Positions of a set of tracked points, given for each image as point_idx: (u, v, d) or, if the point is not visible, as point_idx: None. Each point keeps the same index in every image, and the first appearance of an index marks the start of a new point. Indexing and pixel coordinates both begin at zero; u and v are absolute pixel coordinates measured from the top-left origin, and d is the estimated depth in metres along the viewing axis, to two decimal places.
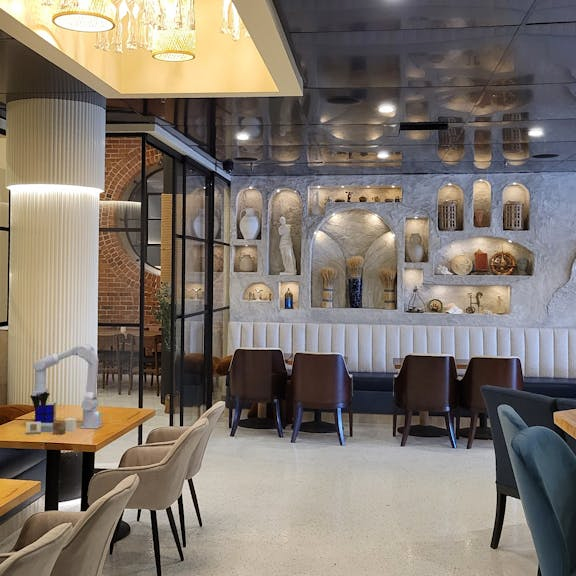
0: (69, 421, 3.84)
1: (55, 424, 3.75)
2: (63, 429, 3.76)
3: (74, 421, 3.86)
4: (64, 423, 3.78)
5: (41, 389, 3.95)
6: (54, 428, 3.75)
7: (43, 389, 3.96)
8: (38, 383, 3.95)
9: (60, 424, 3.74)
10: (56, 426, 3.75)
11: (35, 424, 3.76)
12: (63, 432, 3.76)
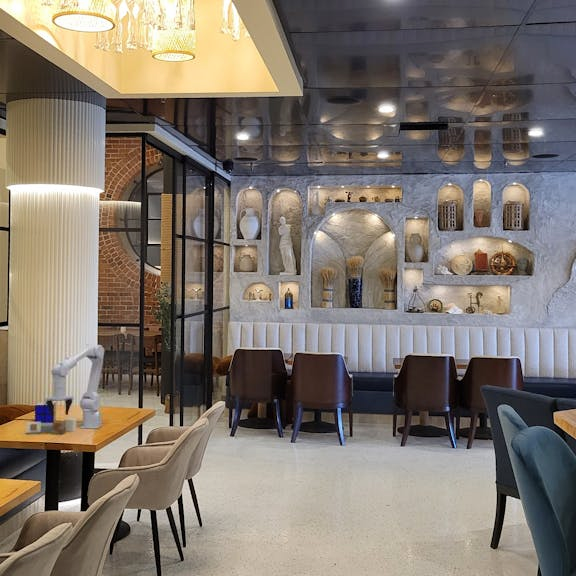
0: (69, 421, 3.84)
1: (55, 424, 3.75)
2: (63, 429, 3.76)
3: (74, 421, 3.86)
4: (64, 423, 3.78)
5: (55, 396, 3.75)
6: (54, 428, 3.75)
7: (57, 396, 3.75)
8: (54, 389, 3.76)
9: (60, 424, 3.74)
10: (56, 426, 3.75)
11: (35, 424, 3.76)
12: (63, 432, 3.76)
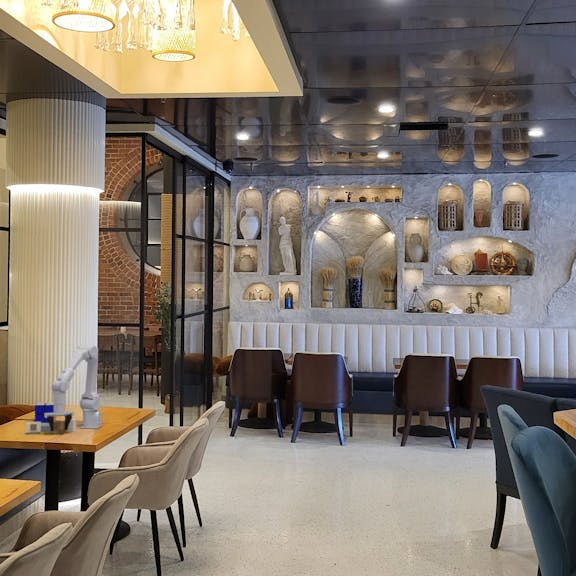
0: None
1: (55, 424, 3.75)
2: (63, 429, 3.76)
3: (74, 421, 3.86)
4: (64, 423, 3.78)
5: (55, 411, 3.74)
6: (54, 428, 3.75)
7: (58, 411, 3.74)
8: (54, 405, 3.75)
9: (60, 424, 3.74)
10: (56, 426, 3.75)
11: (35, 424, 3.76)
12: (63, 432, 3.76)
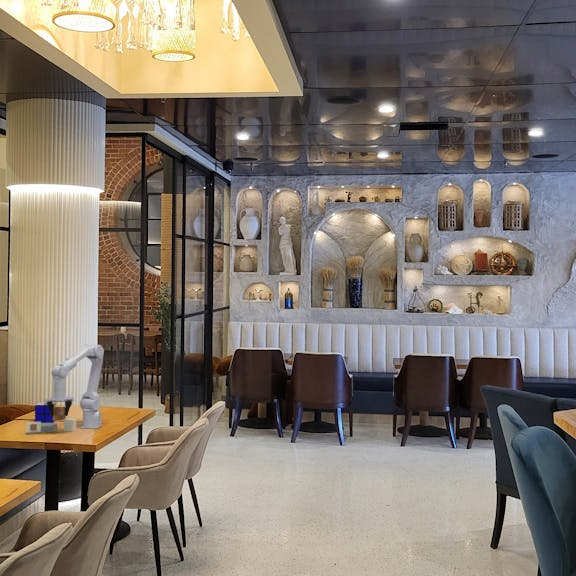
0: (69, 421, 3.84)
1: (55, 409, 3.75)
2: (63, 414, 3.77)
3: (74, 421, 3.86)
4: (64, 409, 3.78)
5: (55, 397, 3.75)
6: (54, 413, 3.75)
7: (58, 397, 3.74)
8: (54, 390, 3.76)
9: (60, 409, 3.75)
10: (56, 412, 3.75)
11: (35, 424, 3.76)
12: (63, 417, 3.77)
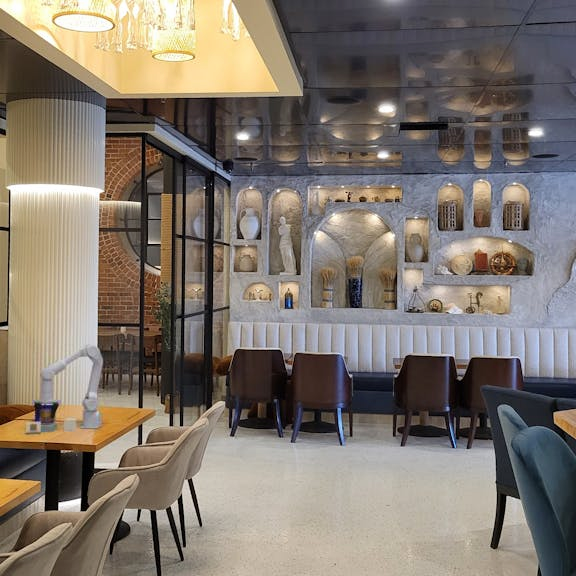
0: (69, 421, 3.84)
1: (41, 411, 3.84)
2: (48, 416, 3.84)
3: (74, 421, 3.86)
4: (50, 411, 3.85)
5: (41, 399, 3.84)
6: (40, 415, 3.85)
7: (42, 399, 3.83)
8: None
9: (44, 411, 3.83)
10: (42, 413, 3.84)
11: (35, 424, 3.76)
12: (48, 419, 3.84)
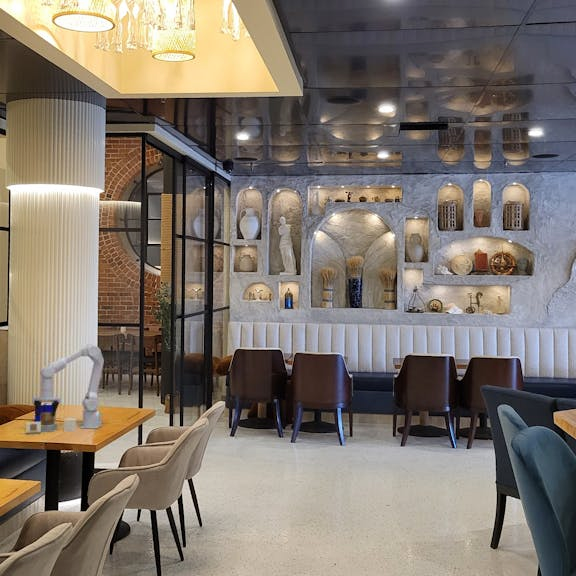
0: (69, 421, 3.84)
1: (41, 414, 3.84)
2: (49, 420, 3.84)
3: (74, 421, 3.86)
4: (51, 414, 3.85)
5: (41, 397, 3.84)
6: (41, 418, 3.85)
7: (42, 397, 3.83)
8: None
9: (44, 415, 3.83)
10: (42, 417, 3.84)
11: (35, 424, 3.76)
12: (49, 423, 3.84)
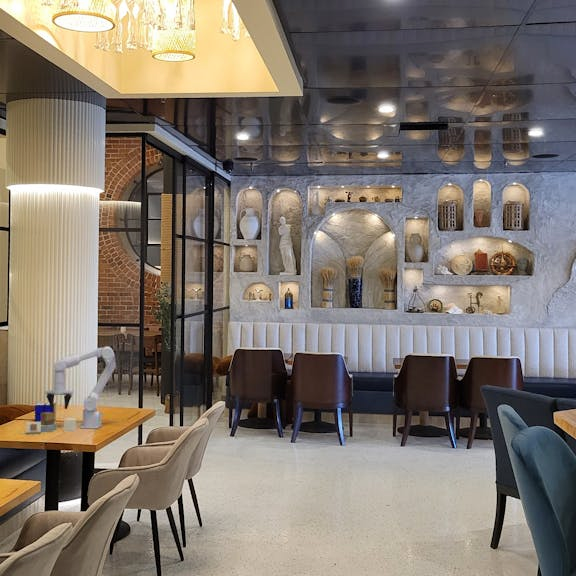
0: (69, 421, 3.84)
1: (42, 414, 3.84)
2: (49, 420, 3.84)
3: (74, 421, 3.86)
4: (51, 414, 3.85)
5: None
6: (41, 418, 3.85)
7: (55, 390, 3.90)
8: None
9: (45, 415, 3.83)
10: (43, 417, 3.84)
11: (35, 424, 3.76)
12: (49, 423, 3.84)
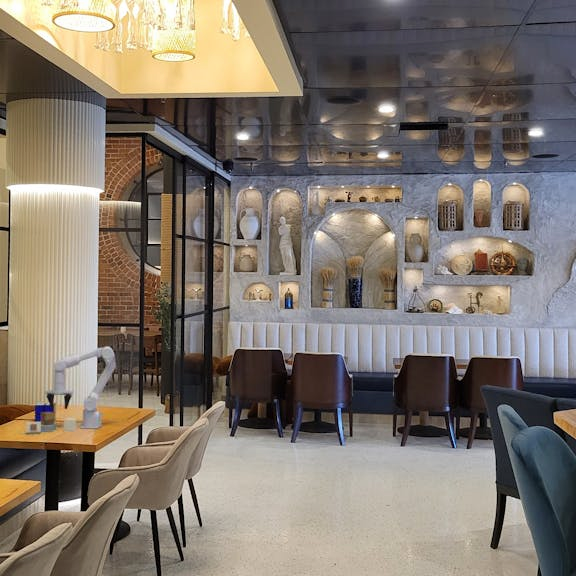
0: (69, 421, 3.84)
1: (42, 414, 3.85)
2: (49, 419, 3.84)
3: (74, 421, 3.86)
4: (51, 414, 3.85)
5: None
6: (41, 418, 3.85)
7: (55, 390, 3.90)
8: None
9: (45, 414, 3.83)
10: (43, 416, 3.84)
11: (35, 424, 3.76)
12: (49, 422, 3.84)
